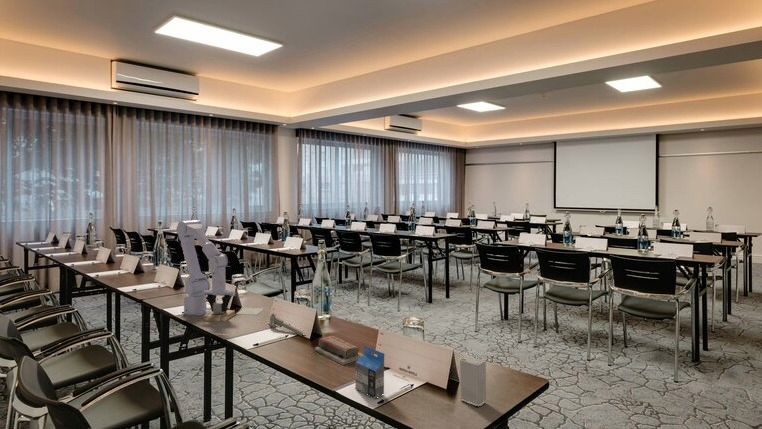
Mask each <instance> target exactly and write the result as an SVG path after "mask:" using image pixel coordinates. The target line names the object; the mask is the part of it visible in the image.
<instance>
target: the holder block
mask: <svg viewBox="0 0 762 429" xmlns="http://www.w3.org/2000/svg"><path fill="white" fill-rule="evenodd" d="M235 315H236V311H235V310H234V309H233V310H231V309H227V311H226V313H225V314H223V315H213V312H212V310H210V311H208V312H207V313H205V315H204V314H203V317H202V318H203V321H204V322H205V321H207V322H210V321H211V322H226V321H227V320H230V319H231V318H233V317H234V316H235Z"/></svg>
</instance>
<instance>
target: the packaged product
mask: <svg viewBox="0 0 762 429" xmlns="http://www.w3.org/2000/svg"><path fill="white" fill-rule="evenodd" d="M314 351H315V352H317V353H319V354H321V355H323V356H325V357H327V358H328V359H330V360H331V361H334V362H336V363H338V364H340V365H342V366H344V365H347V364H350V363H354V362H356V361H357V360H358V359H359V358H360V357H361V356H362V355H363V353H361V352H359V351H360V348H359V347H357V346H356V345H353V344H351V343H349V342H347V341H345V340H343V339H341V338H339V337H337V336H334V335H328V336H324V337H321V338H319V339H318V346H315V347H314Z"/></svg>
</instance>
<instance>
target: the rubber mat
mask: <svg viewBox="0 0 762 429" xmlns="http://www.w3.org/2000/svg"><path fill="white" fill-rule="evenodd" d="M264 310H265V308H261V307H260V308H257V307H256V308H255V307H254V308H253V307H243V309H241V310H240V311H238V312H235V315H250V316H256V315H259V314H260V313H261V312H263V311H264Z"/></svg>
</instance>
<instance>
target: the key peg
mask: <svg viewBox="0 0 762 429" xmlns="http://www.w3.org/2000/svg"><path fill="white" fill-rule="evenodd" d="M225 313H226V312H223V301H222V300H216V302H214V303H213V315H223V314H225Z"/></svg>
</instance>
